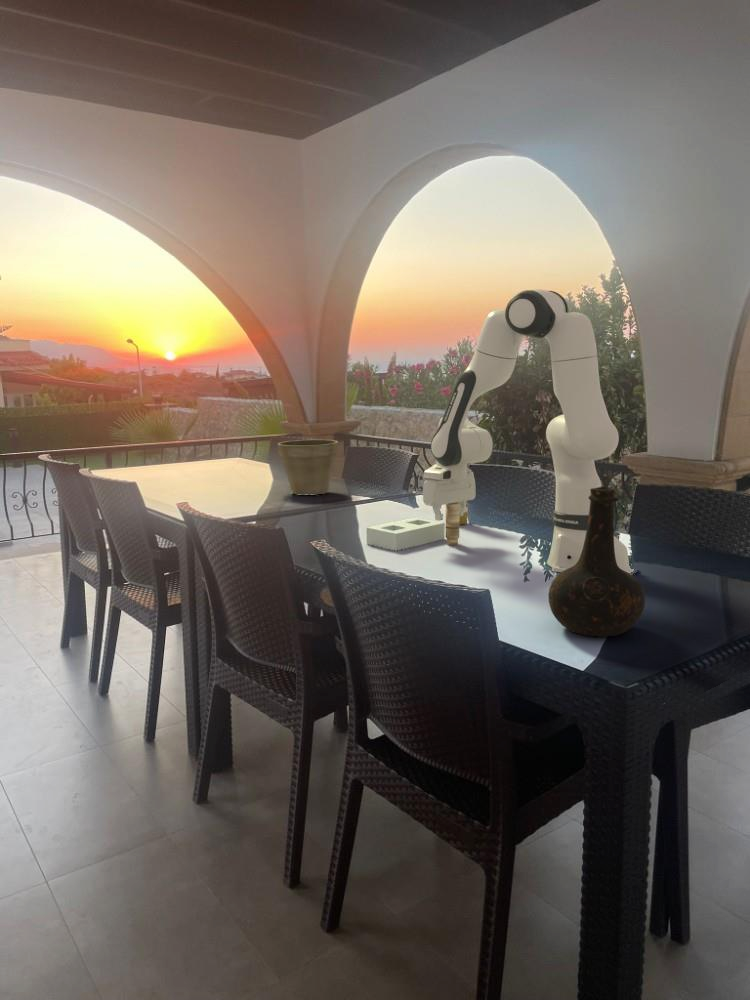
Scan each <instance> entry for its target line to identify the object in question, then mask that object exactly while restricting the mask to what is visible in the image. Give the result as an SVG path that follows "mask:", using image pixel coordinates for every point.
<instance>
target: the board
mask: <svg viewBox="0 0 750 1000" xmlns="http://www.w3.org/2000/svg"><path fill="white" fill-rule="evenodd" d="M445 538H446V522H442V521H438V520H431V519H425V518H420V517H410V518H407V519H402V520H398V521H397V520H396V521H392V522H386V523H381V524H378V525H376V524H375V525H373V526H367V527H366V545H368V544H369V546H372V545H374V547H377V546H378V548H381V547H382V548H381V549H385V548H386V549H385V550H389V549H390V550H391V551H394V550H395V551H394V552H398V551H402V550H406V549H410V548H414V547H417V546H421V545H425V544H430V543H433V542H438V541H443V540H445ZM413 546H414V547H413ZM409 547H410V548H409ZM405 548H406V549H405ZM401 549H402V550H401ZM397 550H398V551H397Z"/></svg>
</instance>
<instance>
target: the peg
mask: <svg viewBox="0 0 750 1000" xmlns="http://www.w3.org/2000/svg"><path fill="white" fill-rule="evenodd" d="M459 521H460V504H459V503H450V504H445V538H446V545H447V546H457V545H458V544H459V539H460V525H459Z"/></svg>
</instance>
